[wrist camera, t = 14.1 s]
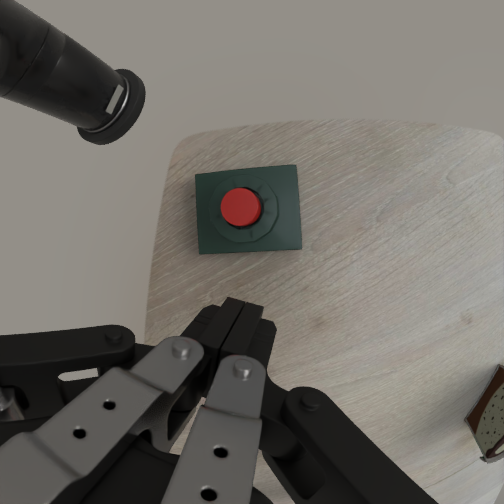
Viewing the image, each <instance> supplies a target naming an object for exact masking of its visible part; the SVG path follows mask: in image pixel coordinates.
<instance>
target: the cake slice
mask: <svg viewBox="0 0 504 504" xmlns="http://www.w3.org/2000/svg"><path fill="white" fill-rule="evenodd" d="M465 421H466V423H467V425H468V427H469V428H470V430H471V432H472V434H473V436H474V438H475V440H476V442H477V444H478V446H479V448H480V450H481V452H482V454H483V457H480V459H481V460H482V461H484V462H487V463H493V462H496V461H498V460H500V459H501V458H503V457H504V366H502V365H500V364H499V365H498V367H497V369H496V370H495V372H494V374H493V376H492V378H491V379H490V381H489V383H488V384H487V386H486V388H485V389H484V391H483V393H482V394H481V396H480V397H479V399H478V400H477V402H476V403H475V405H474V406H473V408H472V409H471V411H470V412H469V414H468V415H467V417H466V418H465Z"/></svg>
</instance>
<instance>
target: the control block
mask: <svg viewBox="0 0 504 504" xmlns="http://www.w3.org/2000/svg"><path fill="white" fill-rule="evenodd" d="M195 184H196V208H197V228H198V244H199V254H217V253H237V252H257V251H278V250H298V249H302V238H301V221H300V206H299V192H298V179H297V167H296V165H281V166H269V167H257V168H247V169H237V170H228V171H219V172H211V173H204V174H196V175H195ZM235 188H245V189H248V190H249V191H251V192H252V193H253V194H255V195H256V196H257V198H258V199H259V201H260V204H261V212H260V215H259V217H258V219H257V220H256V221H255V222H254V223H252V224H250V225H248V226H236V225H232V224H230V223H229V222H227V221H226V220H225V218H224V217H223V215H222V212H221V202H222V199H223V197H224V196H225V195H226V194H227V193H228V192H229V191H230V190H232V189H235Z"/></svg>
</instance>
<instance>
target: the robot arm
mask: <svg viewBox="0 0 504 504" xmlns="http://www.w3.org/2000/svg"><path fill="white" fill-rule="evenodd" d="M0 97H2V98H5V99H8V100H11V101H14V102H16V103H20V104H22V105H25V106H27V107H30V108H33V109H35V110H38V111H41V112H43V113H46V114H48V115H51V116H53V117H56V118H58V119H61V120H63V121H66V122H68V123H71V124H73V125H75V126H78V127H80V128H82V129H84V130H85V131H88V132H90V133H100V132H103V131H105V130H107V129H109V128H110V127H111V126H113V125H114V124H115V123H116V122H117V121H118V120H119V118H120V117H121V116H122V115H123V113H124V111H125V110H126V108H127V106H128V103H129V101H130V97H131V85H130V83H129V81H128V80H127V79H126V78H125V77H124V76H122V75H121V74H119V73H117V72H116V71H115V70H113V69H112V68H111V67H110V66H108V65H107V64H106V63H104V62H103V61H102V60H100V59H99V58H98V57H97V56H95V55H94V54H92V53H91V52H90V51H88V50H87V49H86V48H84V47H83V46H81V45H80V44H79V43H77V42H76V41H74V40H73V39H72V38H70V37H69V36H67V35H66V34H65V33H63V32H61V31H60V30H58V29H57V28H55V27H54V26H53V25H51V24H50V23H48V22H47V21H45V20H44V19H42V18H40V17H39V16H37V15H36V14H34V13H33V12H31V11H30V10H28V9H27V8H25V7H24V6H22V5H21V4H19V3H17V2H16V1H14V0H0ZM263 309H264V307H263V306H260V305H256V304H252V303H249V302H246V304H245V301H241V300H238V299H234V298H231V297H227V299H226V300H225V301H224V303H223V304H222V306H221V307H220V306H216V305H213V304H212V305H210V306H207V307H205V308H203V309H202V310H201V311H200V312H199V314H198V316H196V317H195V318H194V320H193V321H192V322H191V323H190V324H189V326H188V327H187V328H186V329H185V330H184V332H183V333H182V334H181V335H180V336H172V337H168V338H166V339H164V340H163V341H161V342H160V343H159V344H158V345H157V346H149V345H144V344H137V343H135V335H134V334H133V332H132V331H131V330H130V329H128V328H126V327H124V326H120V325H104V326H96V327H87V328H79V329H70V330H60V331H50V332H39V333H28V334H14V335H0V504H273V503H272V502H271V500H270V499H268V498H267V497H266V496H265V495H264V494H263V493H262V492H260V491H259V490H258V489H256V488H255V487H253V480H254V474H255V467H256V461H257V455H258V449H260V450H262V455H263V457H264V459H265V461H266V462H267V464H268V465H269V467H270V468H271V470H272V471H273V473H274V474H275V476H276V477H277V479H278V480H279V482H280V483H281V484H282V486H283V487H284V489H285V490H286V491H287V493H288V494H289V496H290V497H291V498H292V500H293V501H294V502H295V504H438V503H437V502H436V501H435V500H434V499H433V498H432V497H430V496H429V495H428V494H427V493H426V492H425V491H424V490H423V489H422V488H420V487H419V486H418V485H417V484H416V483H415V482H414V481H413V480H412V479H411V478H410V477H409V476H407V475H406V474H405V473H404V472H403V471H402V470H401V469H400V468H399V467H398V466H397V465H396V464H395V463H394V462H393V461H392V460H391V459H389V458H388V457H387V456H386V455H385V454H384V453H383V452H382V451H381V450H380V449H379V448H378V447H377V446H376V445H375V444H374V443H373V442H372V441H371V440H370V439H369V438H368V437H367V436H366V435H365V434H364V433H363V432H362V431H361V430H360V429H359V428H358V427H357V426H356V425H355V424H354V423H353V422H352V421H351V420H350V419H349V418H348V417H347V416H346V415H345V414H344V413H343V412H342V411H341V409H340V408H339V407H338V406H337V405H336V404H335V403H334V402H333V401H332V400H331V399H330V398H329V397H328V396H327V395H326V394H325V393H323V392H322V391H320V390H318V389H315V388H312V387H304V386H303V387H296V388H293V389H291V390H290V391H286V390H284V389H282V388H281V387H279V386H277V385H276V384H275V383H273V382H272V381H271V379H270V378H269V376H268V374H267V366H268V362H269V358H270V354H271V350H272V347H273V343H274V339H275V335H276V331H277V329H276V326H275V324H274V322H273V321H269V320H266V319H262V314H263ZM92 368H97V371H98V377H92V378H86V379H80V380H73V381H62V380H60V379H59V378H58V376H59V375H60V374H62V373H65V372H72V371H80V370H86V369H92ZM201 397H205V398H206V401H205V404H204V405H201V406H200V408H199V410H198V412H197V415H196V417H195V420H194V422H193V425H192V427H191V430H190V432H189V435H188V438H187V440H186V443H185V445H184V448H183V450H182V453H181V455H176V454H171V453H169V452H170V449H171V448H172V446H173V444H174V443H175V442H176V440H177V439H178V437H179V436H180V434H181V433H182V431H183V430H184V428H185V427H186V425H187V424H188V422H189V421H190V419H191V418H192V417H193V415H194V414H195V412H196V406H197V404H198V403H199V401H200V399H201Z"/></svg>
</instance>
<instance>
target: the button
mask: <svg viewBox="0 0 504 504" xmlns="http://www.w3.org/2000/svg"><path fill="white" fill-rule="evenodd" d="M221 212H222V215H223V217H224V218H225V220H226V221H227V222H229V223H230V224H232V225H236V226H248V225H250V224H252V223H254V222H255V221H256V220H257V219H258V217H259V215H260V212H261V204H260V201H259V199H258V198H257V196H256V195H255V194H253V193H252V192H251V191H249V190H248V189H245V188H235V189H232V190H230V191H229V192H228V193H227V194H226V195H225V196H224V197H223V199H222V202H221Z"/></svg>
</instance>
